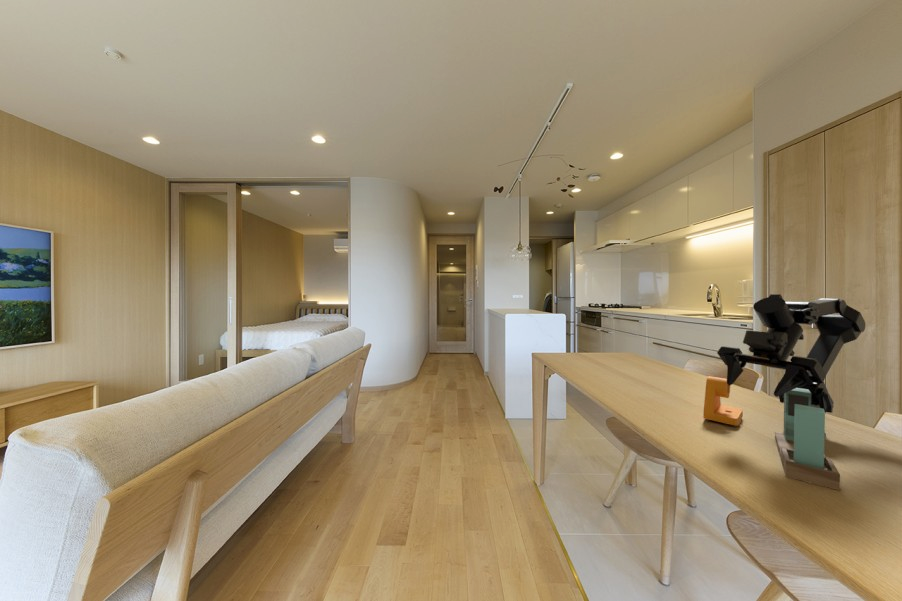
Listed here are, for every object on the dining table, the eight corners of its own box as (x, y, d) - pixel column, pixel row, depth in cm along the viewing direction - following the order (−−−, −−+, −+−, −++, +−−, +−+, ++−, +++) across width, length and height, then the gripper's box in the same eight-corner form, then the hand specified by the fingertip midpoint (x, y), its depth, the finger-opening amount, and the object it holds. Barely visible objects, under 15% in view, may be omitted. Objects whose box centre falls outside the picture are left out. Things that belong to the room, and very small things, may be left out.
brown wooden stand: (774, 437, 81) (775, 384, 80) (816, 446, 76) (817, 390, 76) (785, 476, 64) (786, 410, 64) (839, 490, 60) (841, 419, 59)
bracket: (736, 429, 86) (737, 384, 86) (703, 421, 92) (703, 379, 92) (743, 418, 94) (743, 377, 93) (711, 411, 99) (712, 372, 99)
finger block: (793, 459, 68) (794, 403, 67) (822, 467, 65) (823, 408, 64) (793, 466, 65) (794, 408, 65) (823, 474, 62) (825, 413, 62)
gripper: (722, 316, 87) (693, 360, 83) (819, 322, 69) (788, 378, 66) (740, 343, 90) (713, 386, 86) (838, 355, 72) (809, 411, 69)
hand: (750, 389), depth 77 cm, fingers open, 9 cm apart
